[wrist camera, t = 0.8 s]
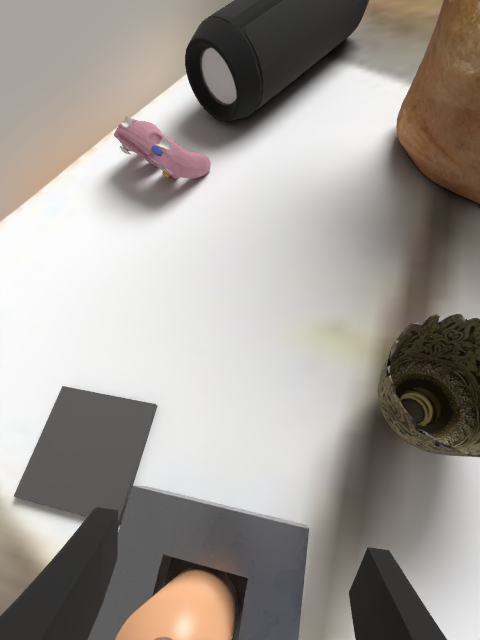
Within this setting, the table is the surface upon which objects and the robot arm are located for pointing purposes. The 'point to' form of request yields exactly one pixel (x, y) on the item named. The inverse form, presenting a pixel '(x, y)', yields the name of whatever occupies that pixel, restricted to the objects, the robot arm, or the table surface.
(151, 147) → the pink elongated curved piece
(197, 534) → the housing
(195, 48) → the portable speaker
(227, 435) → the table surface
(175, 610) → the tapered peach cylinder
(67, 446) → the mat
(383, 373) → the cup
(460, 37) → the ceramic vessel
